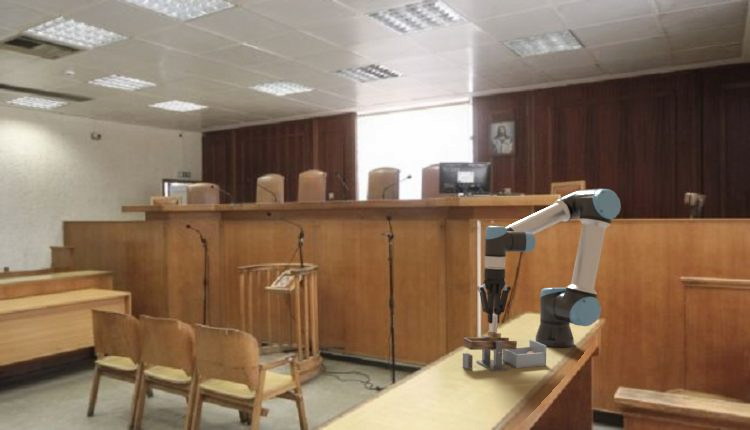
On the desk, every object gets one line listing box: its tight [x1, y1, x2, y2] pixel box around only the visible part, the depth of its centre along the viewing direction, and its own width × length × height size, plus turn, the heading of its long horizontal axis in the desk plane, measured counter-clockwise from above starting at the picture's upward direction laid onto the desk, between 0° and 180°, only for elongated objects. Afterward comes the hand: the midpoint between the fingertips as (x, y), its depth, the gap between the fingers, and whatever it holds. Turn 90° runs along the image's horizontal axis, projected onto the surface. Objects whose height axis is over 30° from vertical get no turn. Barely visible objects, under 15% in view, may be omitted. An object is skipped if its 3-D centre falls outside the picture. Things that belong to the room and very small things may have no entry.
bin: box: [502, 339, 547, 369], centre depth 192 cm, size 12×9×7 cm
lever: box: [462, 330, 518, 351], centre depth 191 cm, size 18×14×3 cm
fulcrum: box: [462, 335, 509, 372], centre depth 186 cm, size 13×11×10 cm
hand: (493, 331), depth 198 cm, fingers closed
